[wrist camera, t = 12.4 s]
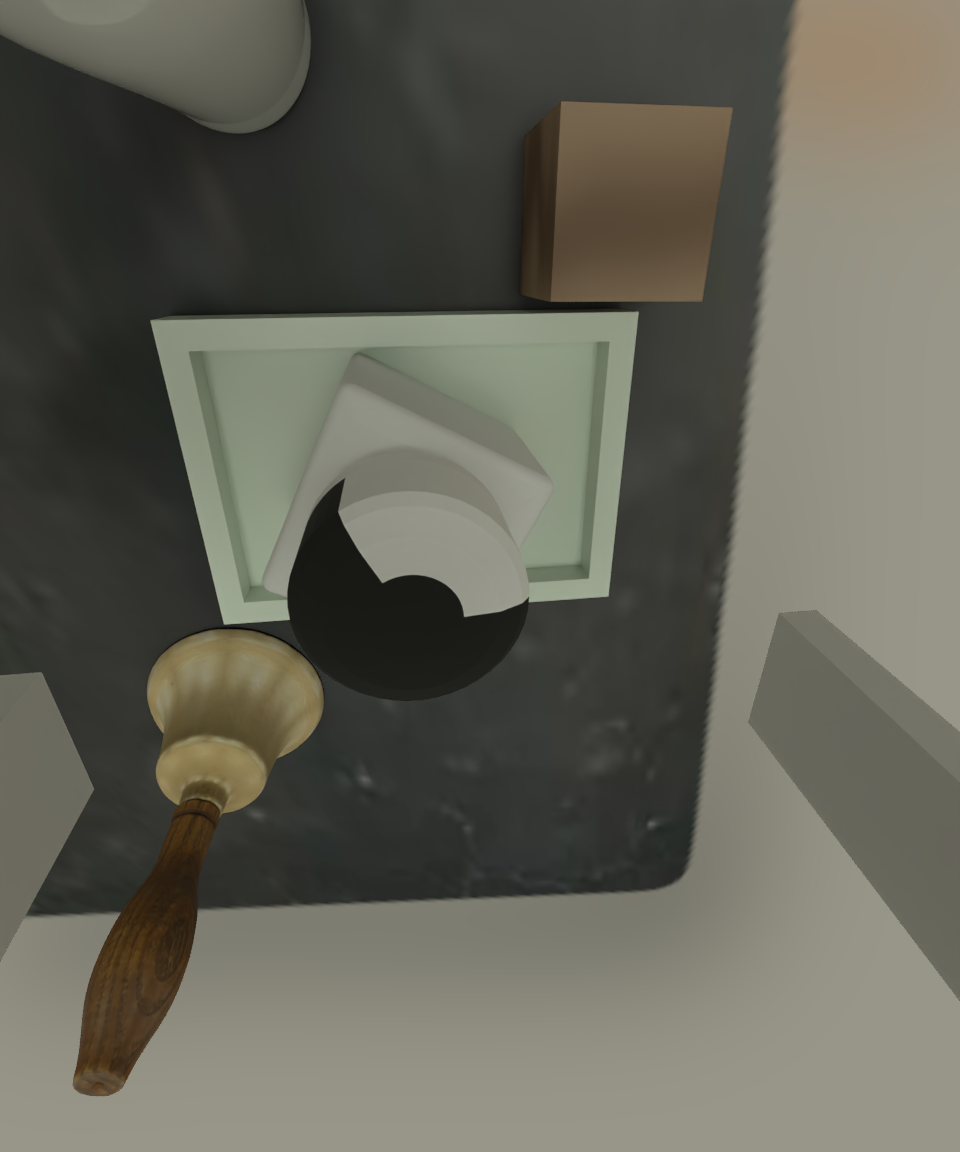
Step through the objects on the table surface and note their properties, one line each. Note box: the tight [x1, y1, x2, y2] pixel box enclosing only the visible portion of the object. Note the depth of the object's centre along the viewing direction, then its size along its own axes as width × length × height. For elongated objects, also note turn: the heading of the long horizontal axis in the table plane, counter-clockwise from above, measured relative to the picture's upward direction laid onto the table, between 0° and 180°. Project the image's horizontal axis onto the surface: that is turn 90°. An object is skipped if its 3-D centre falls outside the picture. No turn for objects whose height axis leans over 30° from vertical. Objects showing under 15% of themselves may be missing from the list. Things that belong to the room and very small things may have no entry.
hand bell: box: [73, 629, 324, 1096], centre depth 23 cm, size 8×8×16 cm
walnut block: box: [520, 101, 733, 302], centre depth 20 cm, size 5×5×5 cm
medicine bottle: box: [262, 353, 554, 701], centre depth 20 cm, size 7×7×12 cm
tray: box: [150, 308, 639, 625], centre depth 25 cm, size 12×17×2 cm
